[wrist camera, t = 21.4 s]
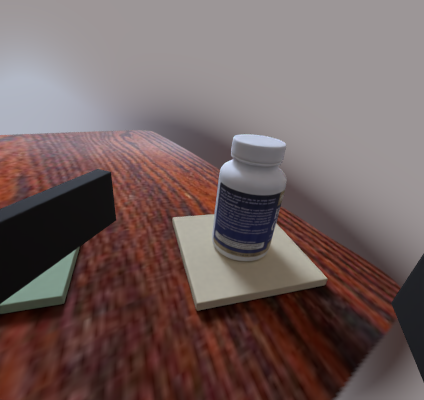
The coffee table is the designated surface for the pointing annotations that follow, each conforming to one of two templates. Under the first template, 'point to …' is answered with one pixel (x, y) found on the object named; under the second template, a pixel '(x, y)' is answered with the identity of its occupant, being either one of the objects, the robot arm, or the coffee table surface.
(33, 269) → the robot arm
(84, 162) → the coffee table surface
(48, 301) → the sage mat
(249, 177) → the pill bottle
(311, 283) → the cream mat
